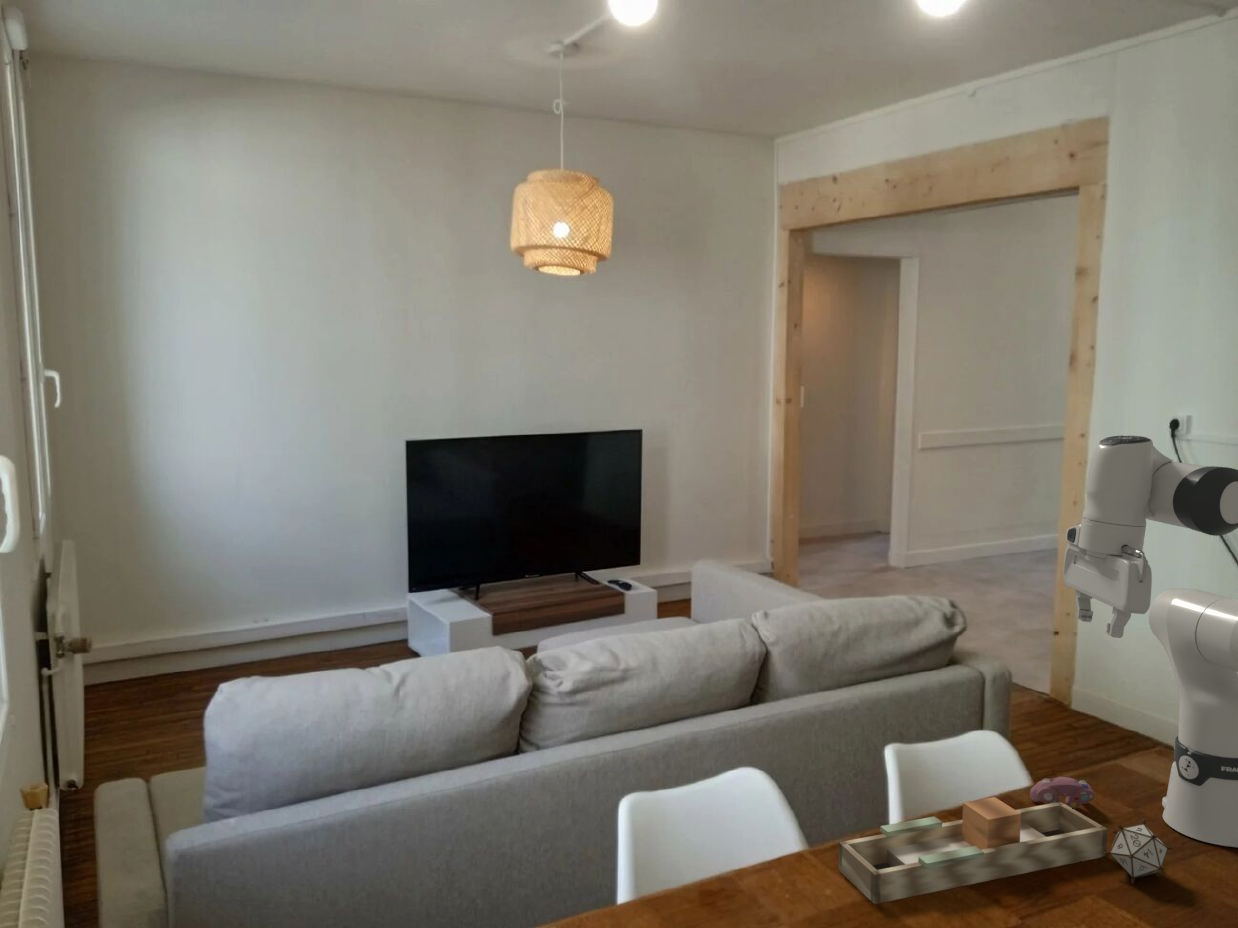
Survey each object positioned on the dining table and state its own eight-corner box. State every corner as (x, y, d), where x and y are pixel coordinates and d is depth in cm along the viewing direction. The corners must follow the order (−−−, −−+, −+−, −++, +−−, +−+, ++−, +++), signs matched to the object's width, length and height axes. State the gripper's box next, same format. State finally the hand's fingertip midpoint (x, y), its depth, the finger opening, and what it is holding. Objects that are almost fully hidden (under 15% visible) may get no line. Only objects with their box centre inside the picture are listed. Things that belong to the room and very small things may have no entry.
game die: (1150, 903, 146) (1188, 873, 139) (1094, 879, 147) (1129, 848, 141) (1147, 852, 153) (1182, 820, 146) (1093, 829, 154) (1126, 797, 147)
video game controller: (1033, 815, 170) (1039, 789, 166) (1026, 793, 174) (1033, 767, 170) (1092, 818, 169) (1100, 791, 165) (1085, 796, 172) (1092, 770, 169)
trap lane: (1055, 824, 163) (1056, 794, 163) (1111, 859, 152) (1112, 826, 151) (834, 866, 150) (835, 833, 150) (878, 907, 139) (878, 872, 138)
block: (993, 832, 156) (994, 796, 155) (1019, 850, 150) (1020, 813, 149) (961, 838, 154) (963, 802, 153) (987, 856, 148) (988, 819, 147)
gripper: (1169, 554, 138) (1156, 648, 140) (1099, 531, 159) (1087, 614, 160) (1125, 550, 138) (1112, 644, 139) (1060, 528, 159) (1049, 610, 160)
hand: (1098, 628), depth 150 cm, fingers open, 8 cm apart
